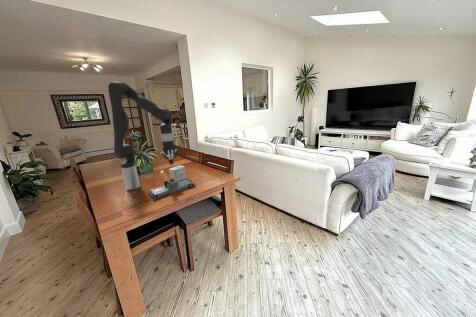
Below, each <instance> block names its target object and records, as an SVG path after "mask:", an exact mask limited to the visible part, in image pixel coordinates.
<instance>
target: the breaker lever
mask: <svg viewBox="0 0 476 317" xmlns="http://www.w3.org/2000/svg"><path fill="white" fill-rule="evenodd" d="M160 174H161V175H162V177H163V178H164V180H166V181H167V182H168V183H170V182H171V181H170V180H169V179H170V178H169V177H168V175H167V174H166V172H165V171H164V170H161V171H160Z"/></svg>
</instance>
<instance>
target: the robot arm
mask: <svg viewBox="0 0 476 317" xmlns="http://www.w3.org/2000/svg"><path fill="white" fill-rule="evenodd" d="M107 91H108V96H109V97H108V98H109V101H110V106H111V114H112V125H113V126H112V127H113V140H114V142H113V143H114V145H113V151H114V155H115V157H116V158H117V159H118V160H122V159H124V160H123V161H122V162H121V163H120V168H121V172H122V176H123V179H124V184H125V189H126V190H127V191H131V190H136V189H139V188H140V187H141V184H140V179H139V175H138V170H137V167H136V166H137V165H136V157H135V150H134V148H133V146H132V144H129V143H126V144H124V140H125V138H126V135H127V133H128V132H129V129H130V120H129V116H128V114H127V112H126V111H125V109H124V106H123V99H122V98H127V99H129V100H132V101H134V103H135V104H136V105H137V106H138V107H139V108H140V109H142V110H143V111H146V112H147V113H149V114H150V115H152V116H153V117H154V118H155V119H156V120H159V121H161V124H160V125H159V131H160V138H161V146H162V151H161V152H160V153H159V155H161V156H162V157H163V158H165V160H168V164H169V165H173V164H174V159H175V158H177V155H178V154H179V152H180V150H179V149H177V148H176V146H175V140H174V135H173V130H172V117H173V116H172V112H171V111H170V110H169V108H168V109H167V108H160V107H159V106H158V104H156V103H155V102H153V101H152V100H150V99H147V98H146V96H145V97H144V96H143V95H142V94H140V93H138V92H137V91H136V90H135V89H133V88H132V87H131V86H130V85H128V84H127V83H125V82H123V81H111V82H110V83H109V84H108V87H107ZM165 154H166V155H165Z"/></svg>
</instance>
